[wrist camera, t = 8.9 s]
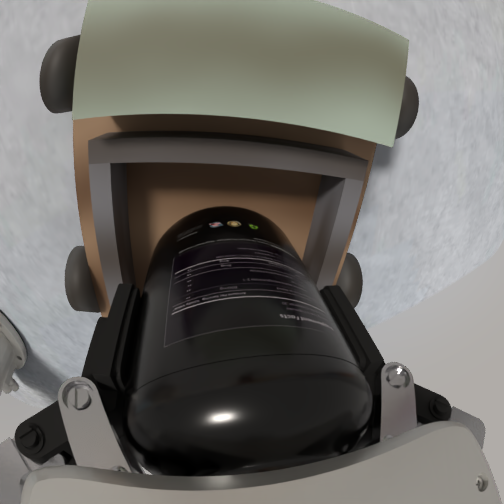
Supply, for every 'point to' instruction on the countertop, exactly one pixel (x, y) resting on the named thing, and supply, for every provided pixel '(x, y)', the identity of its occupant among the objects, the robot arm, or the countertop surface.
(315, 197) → the toy truck
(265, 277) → the supplement bottle
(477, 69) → the countertop surface
